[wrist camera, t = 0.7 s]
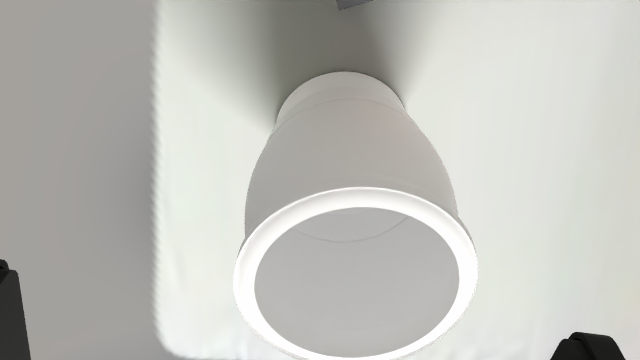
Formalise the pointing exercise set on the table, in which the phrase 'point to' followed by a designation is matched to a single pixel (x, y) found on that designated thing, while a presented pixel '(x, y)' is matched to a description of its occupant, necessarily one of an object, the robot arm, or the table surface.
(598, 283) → the table surface
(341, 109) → the jar
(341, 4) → the grey block
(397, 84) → the table surface
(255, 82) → the table surface
